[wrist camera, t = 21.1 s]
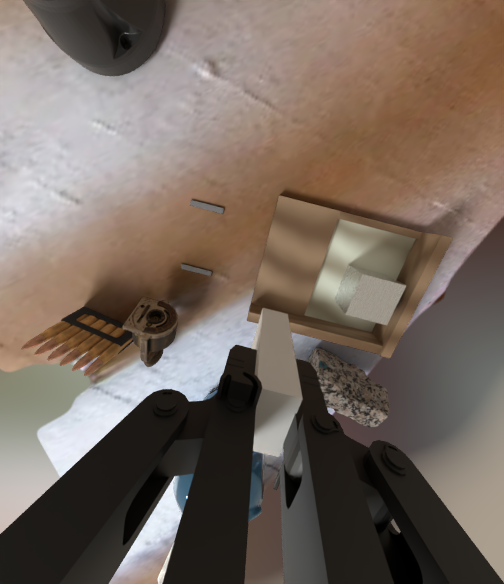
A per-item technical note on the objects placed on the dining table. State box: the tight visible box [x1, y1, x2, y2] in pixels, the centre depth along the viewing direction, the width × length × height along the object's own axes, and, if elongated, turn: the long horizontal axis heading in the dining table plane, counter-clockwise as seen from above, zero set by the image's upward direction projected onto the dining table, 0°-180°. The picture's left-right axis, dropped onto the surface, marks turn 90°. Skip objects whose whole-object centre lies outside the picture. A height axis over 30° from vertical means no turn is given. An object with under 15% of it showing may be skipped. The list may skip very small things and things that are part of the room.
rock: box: [308, 348, 389, 427], centre depth 37 cm, size 13×9×4 cm
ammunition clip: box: [21, 307, 133, 376], centre depth 37 cm, size 11×2×12 cm, turn 65°
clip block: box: [334, 265, 406, 325], centre depth 34 cm, size 6×6×8 cm
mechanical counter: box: [123, 297, 178, 367], centre depth 37 cm, size 7×13×10 cm, turn 176°
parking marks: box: [181, 200, 224, 276], centre depth 37 cm, size 11×5×1 cm, turn 166°
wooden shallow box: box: [247, 195, 453, 358], centre depth 35 cm, size 18×22×5 cm
